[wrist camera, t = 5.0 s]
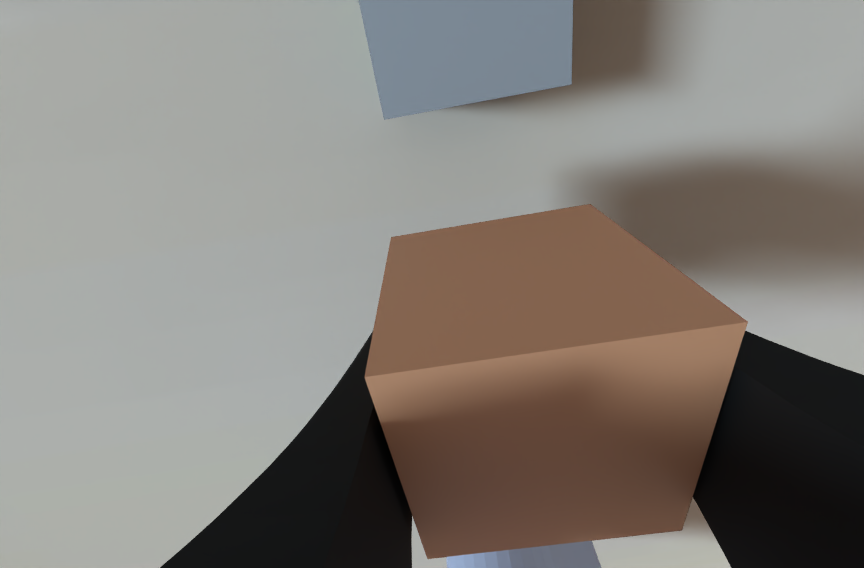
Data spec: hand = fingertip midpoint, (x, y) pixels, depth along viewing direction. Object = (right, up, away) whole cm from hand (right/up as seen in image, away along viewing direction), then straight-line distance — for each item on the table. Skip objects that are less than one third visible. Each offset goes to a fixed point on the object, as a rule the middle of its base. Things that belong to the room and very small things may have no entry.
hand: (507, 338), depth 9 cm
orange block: (0, +1, +1) cm, 2 cm away
